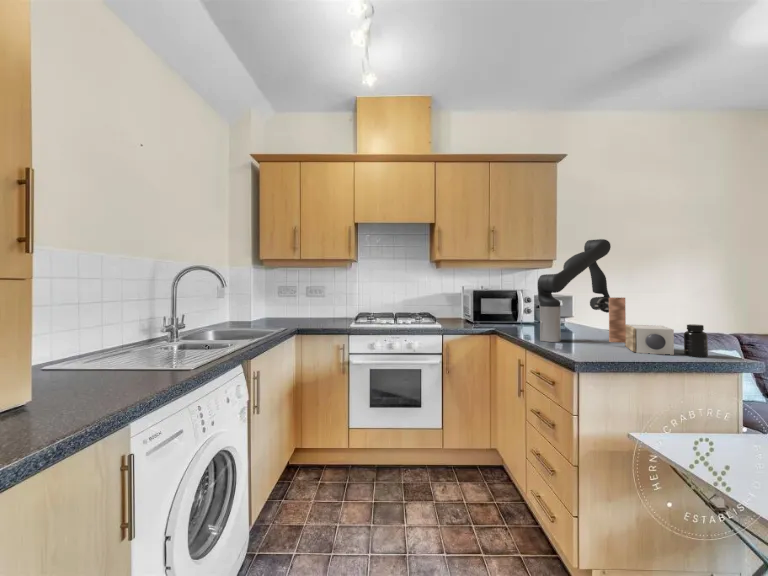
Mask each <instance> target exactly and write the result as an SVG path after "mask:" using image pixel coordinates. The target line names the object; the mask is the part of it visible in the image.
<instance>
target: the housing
mask: <svg viewBox="0 0 768 576" xmlns="http://www.w3.org/2000/svg"><path fill="white" fill-rule="evenodd" d="M628 325H629V326H632V327H634V328H636V352H635V353H636V354H648V353H650V354H651V355H665V354H670V355H669V356H674V353H675V350H674V349H675V348H674V347H675V345H674V344H675V343H674V342H675V338H674V335H675V334H674V329H673V328H670V327H668V326H664V325H656V324H655V325H653V324H652V325H649V324H628Z"/></svg>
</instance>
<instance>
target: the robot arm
mask: <svg viewBox="0 0 768 576" xmlns="http://www.w3.org/2000/svg"><path fill="white" fill-rule="evenodd" d="M611 246H612V245H611V242H610V241H609V240H607V239H603V238H599V239H589V240H587V241H586V242H585V243H584V250H583V251H581V252H578V253H576V254H574V255H572V256H571V257H570V258H568V259H567V260H565V262H564V264H563V270H560V271H559V272H558V273H552V274H551V273H549V274H541V275H540V276H539V277H538V279H537V298H538V299H537V300H538V302H539V341H540V342H546V343H549V342H550V343H551V342H552V343H559V342H561V341H562V340H561V335H562V332H561V323H562V322H561V301H560V300H559V299H557V298H555V297H554V296H553V294H554V293H555V294H556V293H559V292H562V291H563V290H564V289H565V288H566V287H567V286H568V284H569V283H571V282H572V281H573V280H574V279H575V278H576V277H578V276H579V275H580V274H582V273H583V272H584V271H585V270H587V269H589V273H590V278H591V280H590V281H591V289H592V293H594V294H599V295H603V296H596V297H595V296H594V297H592V298H590V300H589V306H590V307H591V309H592V310H595V311H599V310H600V311H601V312H604V313H606V314H607V313H608V314H609V298H611V296H610V294H609V291H608V285H607V277H606V274H605V273H604V271H603V270H602V269H601V268H600V266H599V264H598V263H597V261H598V260H601V259H602V258H603V257H605V256H606V255H608V254H609V252H610V250H611Z"/></svg>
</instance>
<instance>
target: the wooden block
mask: <svg viewBox="0 0 768 576" xmlns="http://www.w3.org/2000/svg"><path fill="white" fill-rule="evenodd" d="M626 315H627V313H626V297H610V298H609V313H608V338H609V339H608V342H609V343H623V344H624V347H626V348H627V349H628V350H630V351H631V352H634V353H636V328H634V327H632V326H629V325H630V324H626V319H627V318H626Z"/></svg>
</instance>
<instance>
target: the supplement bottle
mask: <svg viewBox="0 0 768 576" xmlns="http://www.w3.org/2000/svg"><path fill="white" fill-rule="evenodd" d="M704 328H705V327H704V325H703V324H686V331H685V332H684V333H683V353H684V355H685V356H687V357H691V356H692V358H707V357H708V356H709V344H708V342H709V341H708V334H707V332H705V329H704Z"/></svg>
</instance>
